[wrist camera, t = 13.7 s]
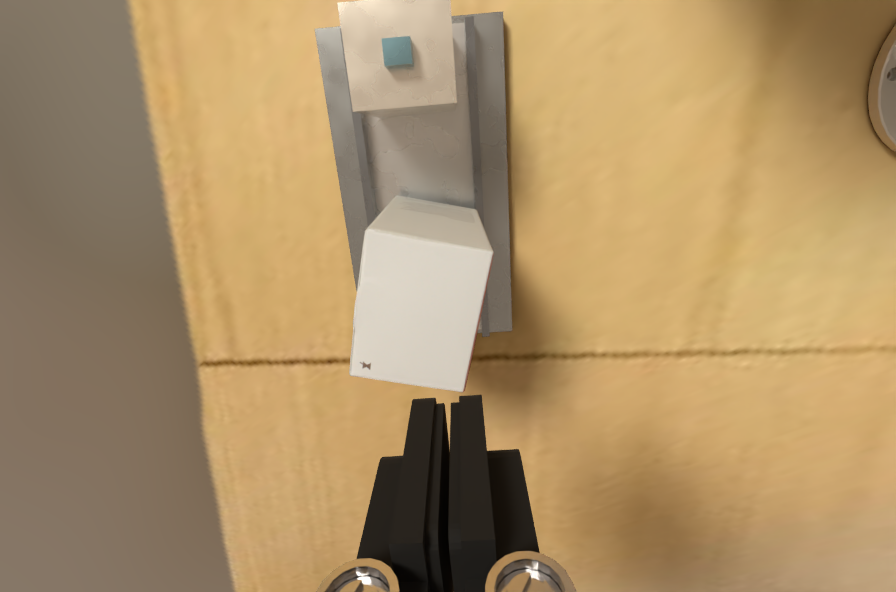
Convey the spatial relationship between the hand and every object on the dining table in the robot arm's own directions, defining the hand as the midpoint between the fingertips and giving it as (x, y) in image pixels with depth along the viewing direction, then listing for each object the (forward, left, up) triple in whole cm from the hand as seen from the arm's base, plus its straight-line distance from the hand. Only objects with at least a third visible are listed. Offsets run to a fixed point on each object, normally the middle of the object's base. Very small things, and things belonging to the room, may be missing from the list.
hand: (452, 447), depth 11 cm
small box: (+2, +1, -24) cm, 24 cm away
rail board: (+2, -3, -27) cm, 27 cm away
